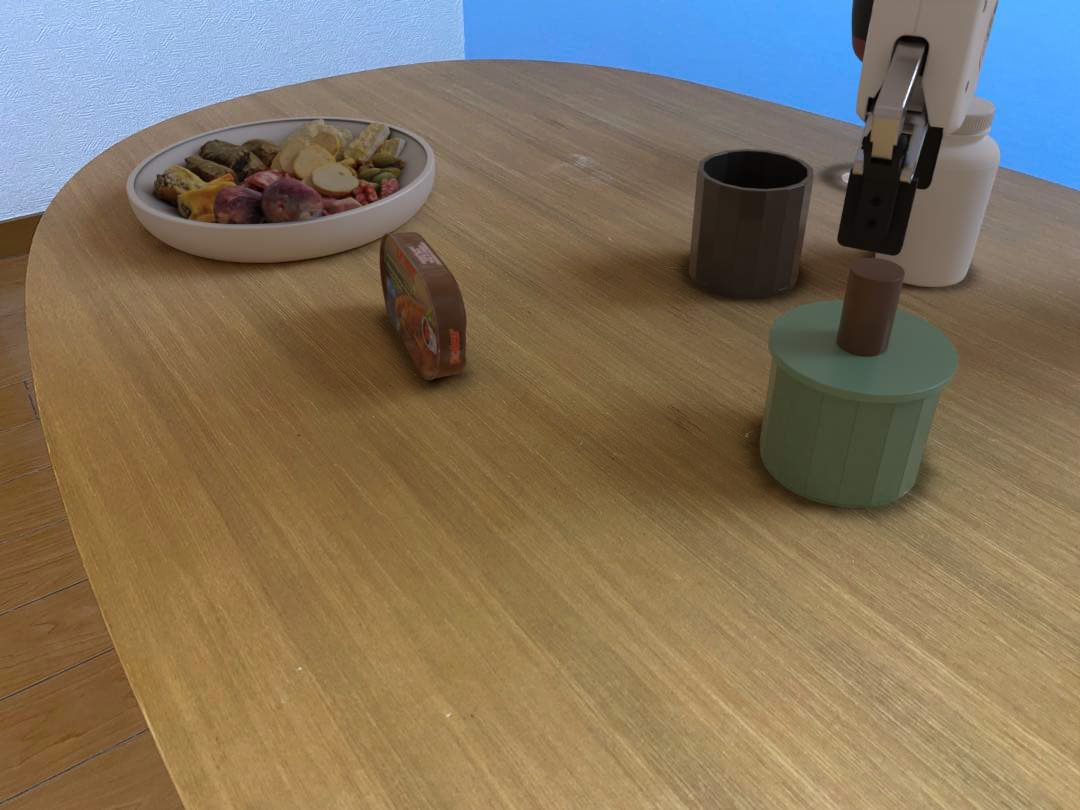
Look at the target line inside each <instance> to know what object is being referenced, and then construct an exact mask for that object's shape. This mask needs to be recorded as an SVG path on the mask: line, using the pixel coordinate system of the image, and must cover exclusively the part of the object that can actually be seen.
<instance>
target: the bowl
mask: <svg viewBox="0 0 1080 810" xmlns="http://www.w3.org/2000/svg"><path fill="white" fill-rule="evenodd" d="M435 161H436V160H435V153H434V151H433V149H432V147H431V146H430V144H429V143H428V142H427V141H426V140H425V139H423V138H422V137H420V136H419V135H417V134H415V133H414V132H412V131H409V130H407V129H406V128H402V127H400V126H397V125H394V124H389V123H385V122H382V121H376V120H370V119H364V118H355V117H346V116H345V117H343V116H295V117H294V116H293V117H281V118H271V119H262V120H256V121H249V122H244V123H237V124H233V125H228V126H224V127H219V128H216V129H211V130H208V131H207V130H206V131H204V132H201V133H198V134H194V135H192V136H188V137H186V138H183V139H181V140H178V141H175V142H173V143H170V144H169V145H166V146H164V147H162V148H160V149H159V150H157V151H155V152H153V153H151V154H150V155H148V156H147V157H145V158H144V159H143V160H142V161H140V162H139V163H138V164H137V165H136V166H135V167H134V168H133V169H132V170H131V172H130V173H129V175H128V177H127V181H126V186H125V190H126V195H127V198H128V202H129V204H130V207H131V209H132V211H133V213H134V215H135V217H136V218H137V220H138V221H139V222H140V224H141V225H142V226H143V227H144V228H145V229H146V231H148V232H149V233H151V235H153V237H155V238H156V239H158V240H159V241H162V243H164V244H166V245H168V246H170V247H172V248H174V249H176V250H179V251H181V252H183V253H187V254H190V255H193V256H197V257H201V258H206V259H211V260H215V261H221V262H229V263H231V262H232V263H246V264H247V263H248V264H266V263H267V264H270V263H271V264H272V263H287V262H295V261H297V262H298V261H303V260H310V259H317V258H321V257H326V256H331V255H335V254H340V253H342V252H346V251H349V250H352V249H355V248H359V247H361V246H364V245H367V244H370V243H372V242H374V241H376V240H379V239H382V237H383V236H384V235H385V234H386V233H389V234H391V233H392V232H394V231H396V230H397V229H398V228H400V227H402V226H403V225H404V224H406V223H407V222H408V221H409V220H411V219H412V218H413V217H414V216H415V215H416V214H417V213H418V212H419V211H420V210H421V208H422V207H423V206H424V205H425V203H426V201H427V200H428V197H429V196H430V194H431V192H432V189H433V187H434V182H435V177H436V176H435V175H436V163H435Z"/></svg>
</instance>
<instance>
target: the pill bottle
mask: <svg viewBox="0 0 1080 810" xmlns="http://www.w3.org/2000/svg"><path fill="white" fill-rule="evenodd" d="M995 114H996V107H995V105H994V103H992V101H990V100H987V99H985V98H983V97H980V96H975V95H974V98H973V100H972V102H971V105H970V107H969V110H968V112H967V114H966V116H965V118H964V121H963V123H962V125H961V126H960V128H959V129H957V130H956V131H954V132H953V133H951V134H949V135H946V134H943V138H942V142H941V146H940V150H939V154H938V158H937V162H936V166H935V170H934V174H933V178H932V182H931V184H930V186H929V187H928V188H927V189H924V190H921V189H916V193H915V197H914V202H913V206H912V210H911V214H910V218H909V223H908V227H907V231H906V235H905V239H904V244H903V247H902V249H901V252H900V253H899V254H898V255H895V256H891V255H886V254H881V253H875V255H874V256H875V257H874V258H879V259H885V260H889V261H892V262H894V263H896V264H898V265H900V266H901V267H902V268H903V269H904V271H905V276H904V280H903V284H907V285H912V286H916V287H924V288H927V287H928V288H942V287H943V288H944V287H949V286H953V285H956V284H958V283H960V282H962V281H963V280H964V279H965V277H966V276H967V275H968V271H969V269H970V266H971V262H972V259H973V256H974V252H975V248H976V246H977V241H978V238H979V235H980V231H981V228H982V224H983V221H984V218H985V215H986V210H987V207H988V204H989V201H990V197H991V194H992V190H993V186H994V183H995V179H996V176H997V173H998V169H999V167H1000V162H1001V150H1000V147H999V144H998V143H997V142H996V140H995V139H993V137H992V136H990V135H989V134H990V133H991V130H992V127H991V126H992V124H993V120H994V117H995Z"/></svg>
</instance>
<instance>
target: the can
mask: <svg viewBox="0 0 1080 810" xmlns="http://www.w3.org/2000/svg"><path fill="white" fill-rule="evenodd" d="M941 393H942V390H941V391H939V392H938V393H936V394H934V395H931V396H929V397H926V398H923V399H919V400H915V401H909V402H901V403H868V402H860V401H853V400H848V399H843V398H839V397H836V396H832V395H828V394H825V393H823V392H820V391H817V390H815V389H813V388H810V387H808V386H806V385H804V384H802V383H800V382H799V381H797V380H795V379H794V378H792V377H791V376H789V375H788V374H787V373H785V372H784V371H783V370H782V369H781V368H780V367H779V366H778V365H777V364H776V362H775V361H774V359H773V358H772V357H771V363H770V370H769V377H768V384H767V391H766V395H765V396H766V397H765V402H764V403H765V404H764V410H763V416H762V423H761V430H760V436H759V437H760V438H759V454H760V458H761V462H762V464H763V466H764V468H765V469H766V471H768V473H769V475H771V476H772V478H773V479H774V480H775V481H777V482H778V483H779V484H780V485H782V486H784V488H786V489H787V490H788V491H791V492H792V493H795V494H796V495H798V496H800V497H802V498H804V499H807V500H810V501H812V502H816V503H818V504H823V505H826V506H832V507H839V508H845V509H867V508H875V507H881V506H885V505H887V504H888V505H889V504H891V503H893V502H895V501H898V500H900V499H901V498H903V497H904V496H906V495H907V494H908V493H909V492H911V489H912V488H913V487H914V486H915V484H916V481H917V478H918V474H919V470H920V468H921V464H922V460H923V457H924V454H925V449H926V446H927V443H928V439H929V435H930V431H931V428H932V426H933V425H932V424H933V421H934V417H935V414H936V411H937V408H938V407H937V406H938V403H939V400H940V396H941Z"/></svg>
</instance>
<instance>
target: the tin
mask: <svg viewBox="0 0 1080 810" xmlns="http://www.w3.org/2000/svg"><path fill="white" fill-rule="evenodd" d="M379 275H380V282H381V288H382V294H383V300H384V306H385V310H386V313H387V317H388V320H389V322H390V324H391V325H392V326H393V327H394V329H396V331H397V333H398V335H399V337H400V339H401V341H402V343H403V344H404V346H405V348H406V349H407V351H408V353H409V355H410V357H411V359H412V361H413V362H414V364H415V365H416V367H417V369H418V370H419V372H420V374H421V376H422V377H423V379H425V380H427V381H433V380H434V379H439V378H444V377H450V376H454V375H457V374H459V373H461V372H463V371H464V369H465V368H466V365H467V323H468V322H467V312H466V308H465V307H466V306H465V302H464V299H463V294H462V291H461V289H460V286H459V284H458V282H457V280H456V277H455V276H454V274H453V273H452V271H451V270H450V269H449V268H448V267H447V265H446V263H445V262H444V261H443V260H442V259H441V258H440V256H439V255H438V253H437V252H436V251H435V250H434V249H433V247H432V246H431V245H430V244H429V242H427V241H426V239H425V238H424V237H423V235H421V234H420V233H419V232H415V231H409V232H407V231H405V232H398V233H386V234H385V235H384V236H383V237H381V240H380V246H379Z"/></svg>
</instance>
